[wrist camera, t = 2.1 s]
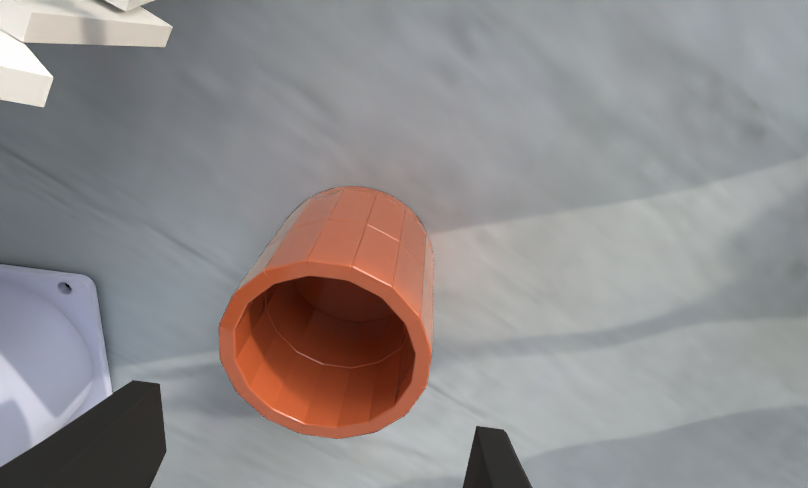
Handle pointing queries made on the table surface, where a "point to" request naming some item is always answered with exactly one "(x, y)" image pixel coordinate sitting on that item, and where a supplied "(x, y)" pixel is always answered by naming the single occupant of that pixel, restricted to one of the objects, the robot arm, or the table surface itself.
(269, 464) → the table surface
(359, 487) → the table surface
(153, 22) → the spiral staircase
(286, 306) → the orange faceted tumbler
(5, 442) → the robot arm
